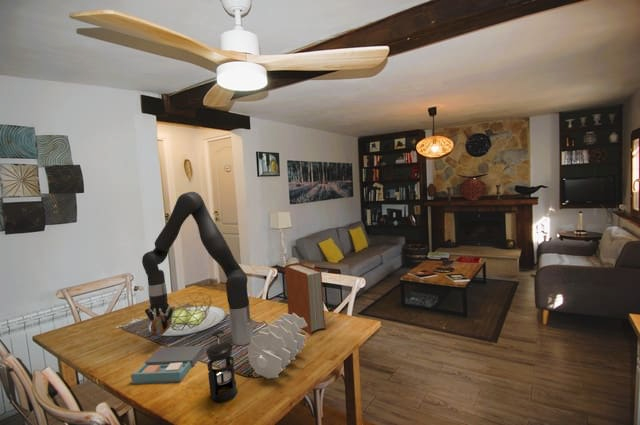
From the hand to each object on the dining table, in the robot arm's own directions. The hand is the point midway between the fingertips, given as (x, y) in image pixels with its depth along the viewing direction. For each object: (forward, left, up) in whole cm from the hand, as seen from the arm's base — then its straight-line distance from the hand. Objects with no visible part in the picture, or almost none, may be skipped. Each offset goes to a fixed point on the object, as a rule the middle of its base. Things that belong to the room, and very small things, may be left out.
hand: (161, 328), depth 157 cm
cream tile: (-17, +23, -8) cm, 30 cm away
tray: (-12, +24, -9) cm, 28 cm away
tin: (0, 0, -2) cm, 2 cm away
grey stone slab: (-12, +13, -9) cm, 20 cm away
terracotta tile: (-8, +24, -8) cm, 27 cm away
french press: (-41, +38, -9) cm, 57 cm away
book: (-66, -16, -9) cm, 69 cm away
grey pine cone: (-58, +20, -9) cm, 62 cm away
